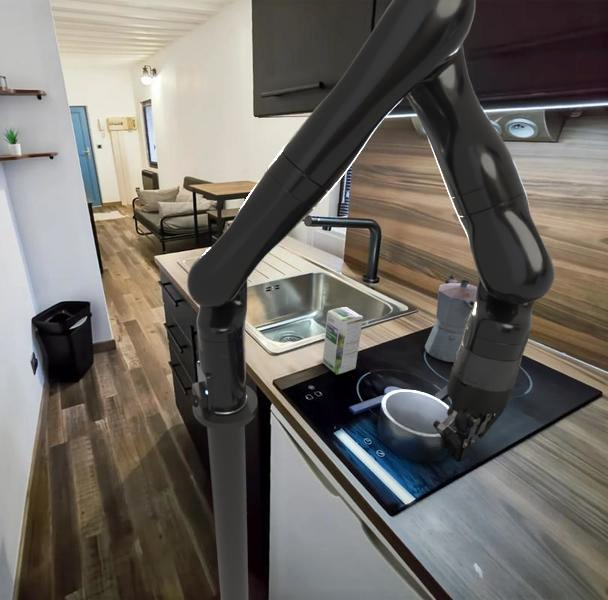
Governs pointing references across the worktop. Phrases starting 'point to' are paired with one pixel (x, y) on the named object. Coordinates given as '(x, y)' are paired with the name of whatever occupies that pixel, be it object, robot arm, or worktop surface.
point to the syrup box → (342, 339)
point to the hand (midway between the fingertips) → (456, 457)
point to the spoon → (371, 402)
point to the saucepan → (414, 424)
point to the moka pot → (451, 318)
